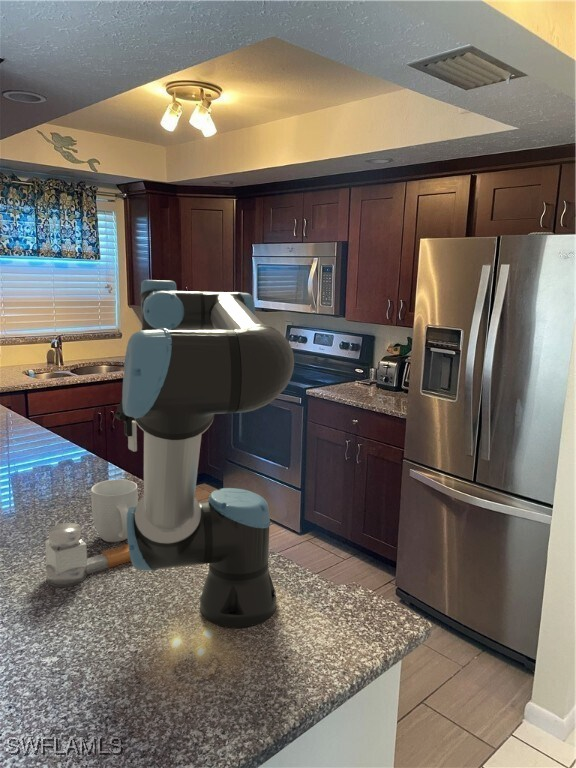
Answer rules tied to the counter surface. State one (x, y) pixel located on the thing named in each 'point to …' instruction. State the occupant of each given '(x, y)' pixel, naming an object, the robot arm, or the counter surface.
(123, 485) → the mug
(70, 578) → the ratchet
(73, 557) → the metal knob on block
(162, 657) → the counter surface
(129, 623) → the counter surface
